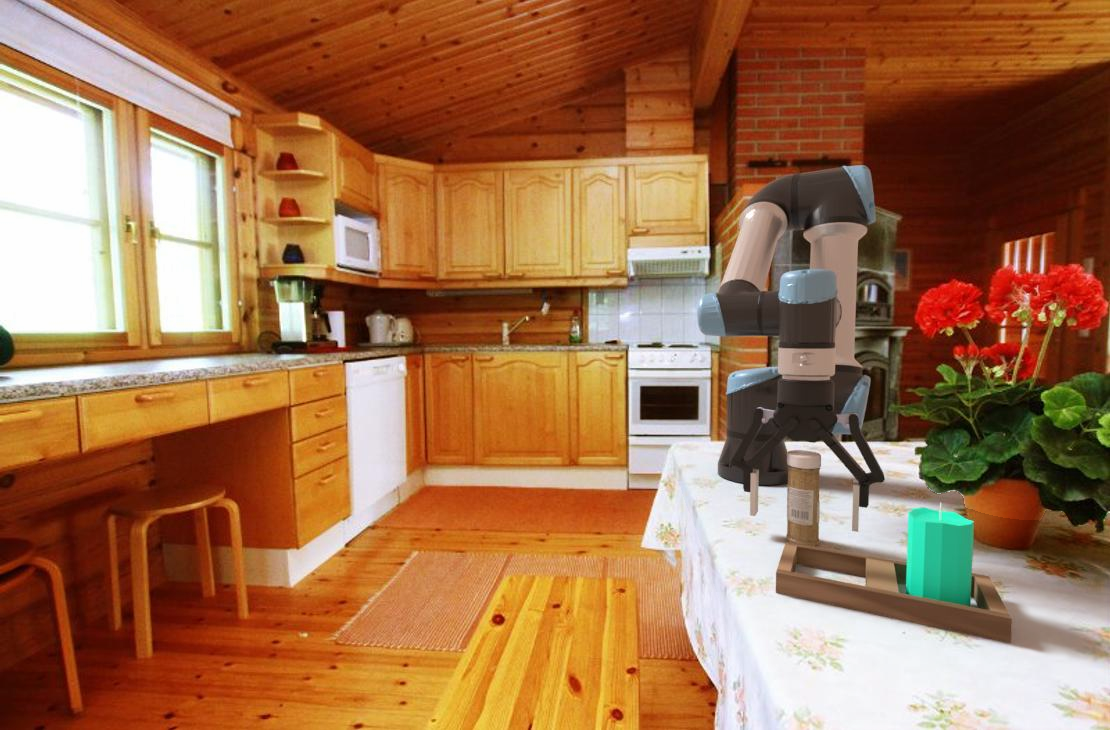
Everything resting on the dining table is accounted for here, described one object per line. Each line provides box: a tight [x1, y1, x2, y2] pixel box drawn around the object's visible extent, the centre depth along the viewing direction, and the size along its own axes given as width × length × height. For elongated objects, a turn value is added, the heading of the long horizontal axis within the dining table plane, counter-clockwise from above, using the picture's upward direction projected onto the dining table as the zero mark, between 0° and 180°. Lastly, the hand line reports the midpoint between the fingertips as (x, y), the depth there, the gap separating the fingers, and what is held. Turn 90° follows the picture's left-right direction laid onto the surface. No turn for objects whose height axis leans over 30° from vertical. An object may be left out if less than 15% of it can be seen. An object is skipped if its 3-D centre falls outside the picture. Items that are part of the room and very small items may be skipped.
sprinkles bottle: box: [785, 449, 822, 547], centre depth 79 cm, size 5×5×14 cm
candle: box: [905, 502, 975, 607], centre depth 61 cm, size 6×6×12 cm
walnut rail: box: [775, 541, 1013, 644], centre depth 64 cm, size 10×22×2 cm, turn 61°
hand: (802, 520), depth 79 cm, fingers open, 13 cm apart
